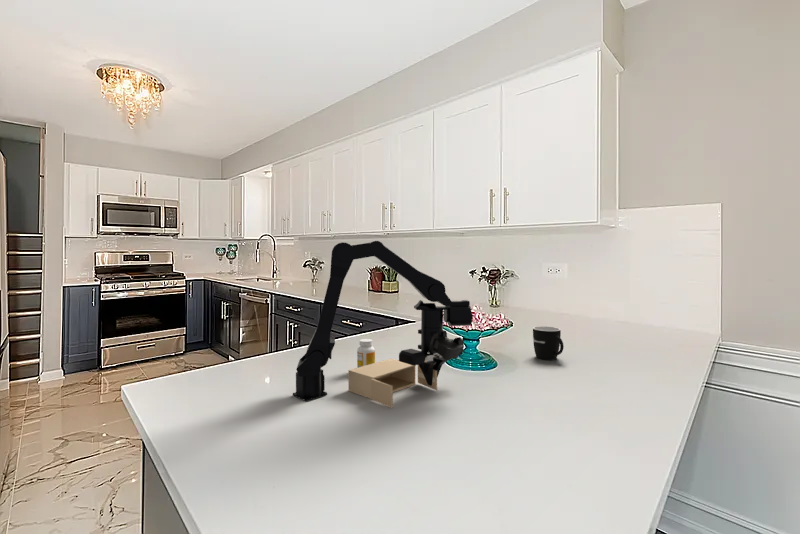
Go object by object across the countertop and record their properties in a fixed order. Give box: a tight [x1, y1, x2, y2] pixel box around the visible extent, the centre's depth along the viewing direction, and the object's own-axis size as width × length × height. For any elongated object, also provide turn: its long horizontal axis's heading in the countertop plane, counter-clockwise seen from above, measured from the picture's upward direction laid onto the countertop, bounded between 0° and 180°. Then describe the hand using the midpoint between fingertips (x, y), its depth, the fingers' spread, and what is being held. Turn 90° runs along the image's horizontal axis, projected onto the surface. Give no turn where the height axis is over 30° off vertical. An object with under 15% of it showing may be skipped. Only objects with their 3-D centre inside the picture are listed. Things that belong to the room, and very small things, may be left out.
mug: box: [532, 325, 564, 361], centre depth 143 cm, size 12×9×10 cm
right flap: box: [417, 365, 438, 391], centre depth 113 cm, size 8×1×5 cm, turn 36°
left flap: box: [370, 379, 394, 408], centre depth 101 cm, size 8×1×5 cm, turn 42°
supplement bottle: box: [356, 338, 376, 368], centre depth 128 cm, size 5×5×10 cm
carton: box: [347, 358, 417, 399], centre depth 114 cm, size 16×10×6 cm, turn 137°
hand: (431, 384), depth 112 cm, fingers closed
